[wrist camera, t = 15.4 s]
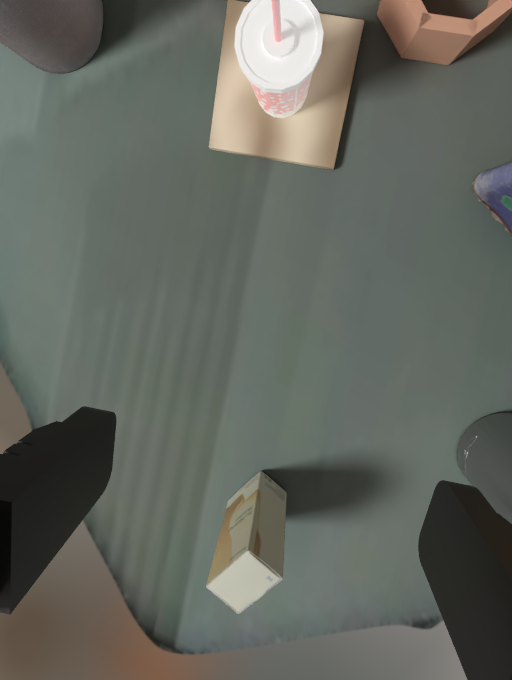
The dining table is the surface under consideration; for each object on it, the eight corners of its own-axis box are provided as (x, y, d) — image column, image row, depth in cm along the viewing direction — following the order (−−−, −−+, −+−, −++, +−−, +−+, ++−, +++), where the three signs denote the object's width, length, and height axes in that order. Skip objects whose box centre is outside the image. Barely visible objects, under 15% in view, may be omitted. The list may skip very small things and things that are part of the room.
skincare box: (261, 468, 46) (250, 547, 34) (288, 492, 46) (286, 577, 34) (225, 501, 47) (202, 588, 35) (251, 524, 48) (238, 617, 36)
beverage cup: (297, 36, 34) (300, -100, 21) (327, 104, 35) (349, 16, 22) (236, 76, 35) (201, -29, 22) (267, 140, 36) (252, 78, 23)
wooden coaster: (362, 25, 34) (364, 20, 33) (332, 170, 37) (333, 168, 36) (229, 4, 35) (228, -1, 34) (210, 149, 38) (208, 147, 37)
